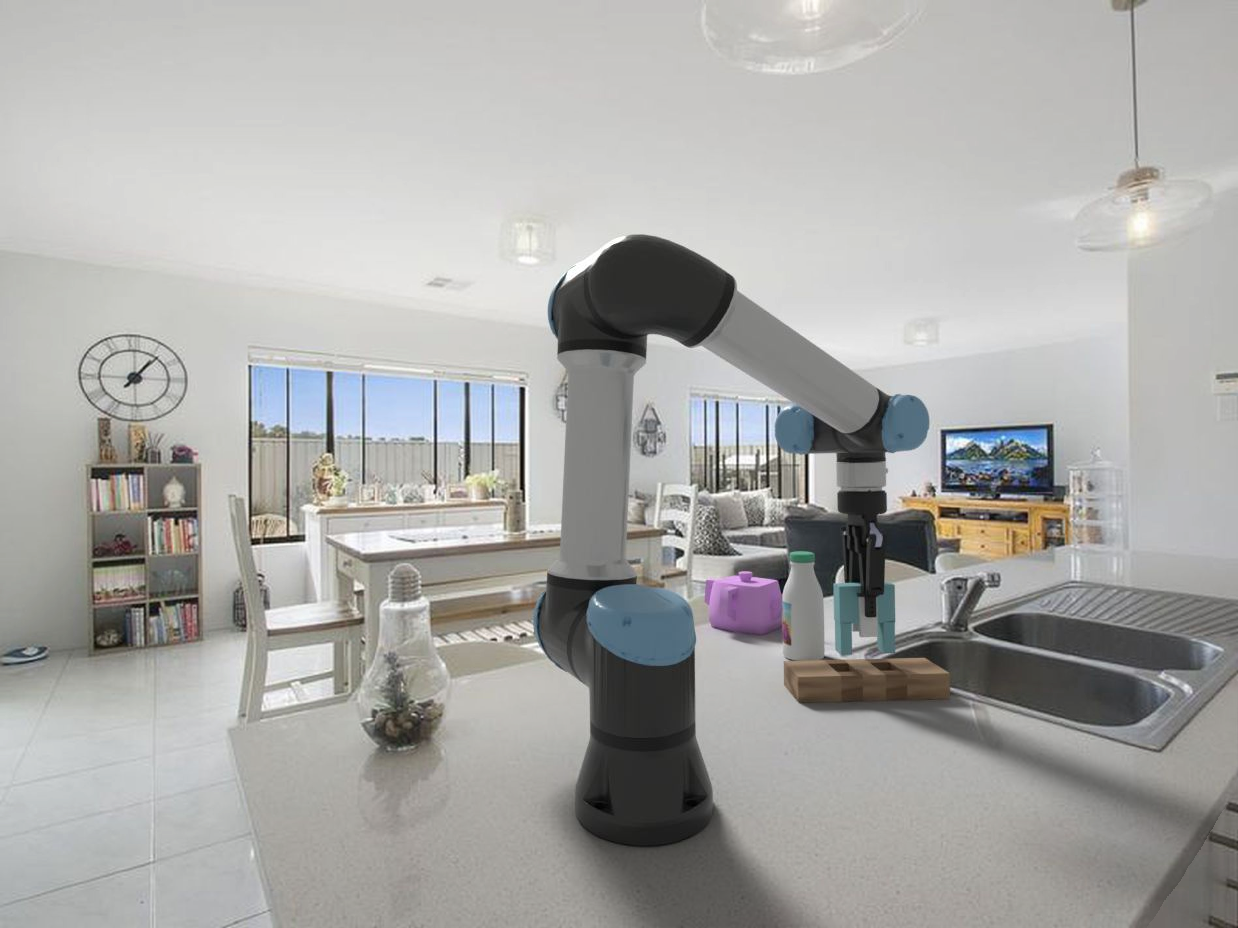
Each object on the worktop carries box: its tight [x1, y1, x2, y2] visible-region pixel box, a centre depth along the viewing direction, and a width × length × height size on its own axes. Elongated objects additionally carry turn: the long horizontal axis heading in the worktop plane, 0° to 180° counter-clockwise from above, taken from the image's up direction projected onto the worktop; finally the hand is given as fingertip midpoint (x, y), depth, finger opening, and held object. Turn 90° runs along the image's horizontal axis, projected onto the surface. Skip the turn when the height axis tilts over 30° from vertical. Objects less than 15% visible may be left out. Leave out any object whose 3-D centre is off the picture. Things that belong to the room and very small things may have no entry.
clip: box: [832, 581, 896, 656], centre depth 106 cm, size 3×9×11 cm, turn 92°
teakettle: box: [703, 570, 783, 636], centre depth 148 cm, size 17×17×12 cm
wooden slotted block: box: [783, 657, 951, 703], centre depth 106 cm, size 8×24×4 cm, turn 91°
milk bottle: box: [781, 550, 825, 661], centre depth 125 cm, size 8×8×20 cm
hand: (864, 633), depth 106 cm, fingers closed on clip, 3 cm apart
